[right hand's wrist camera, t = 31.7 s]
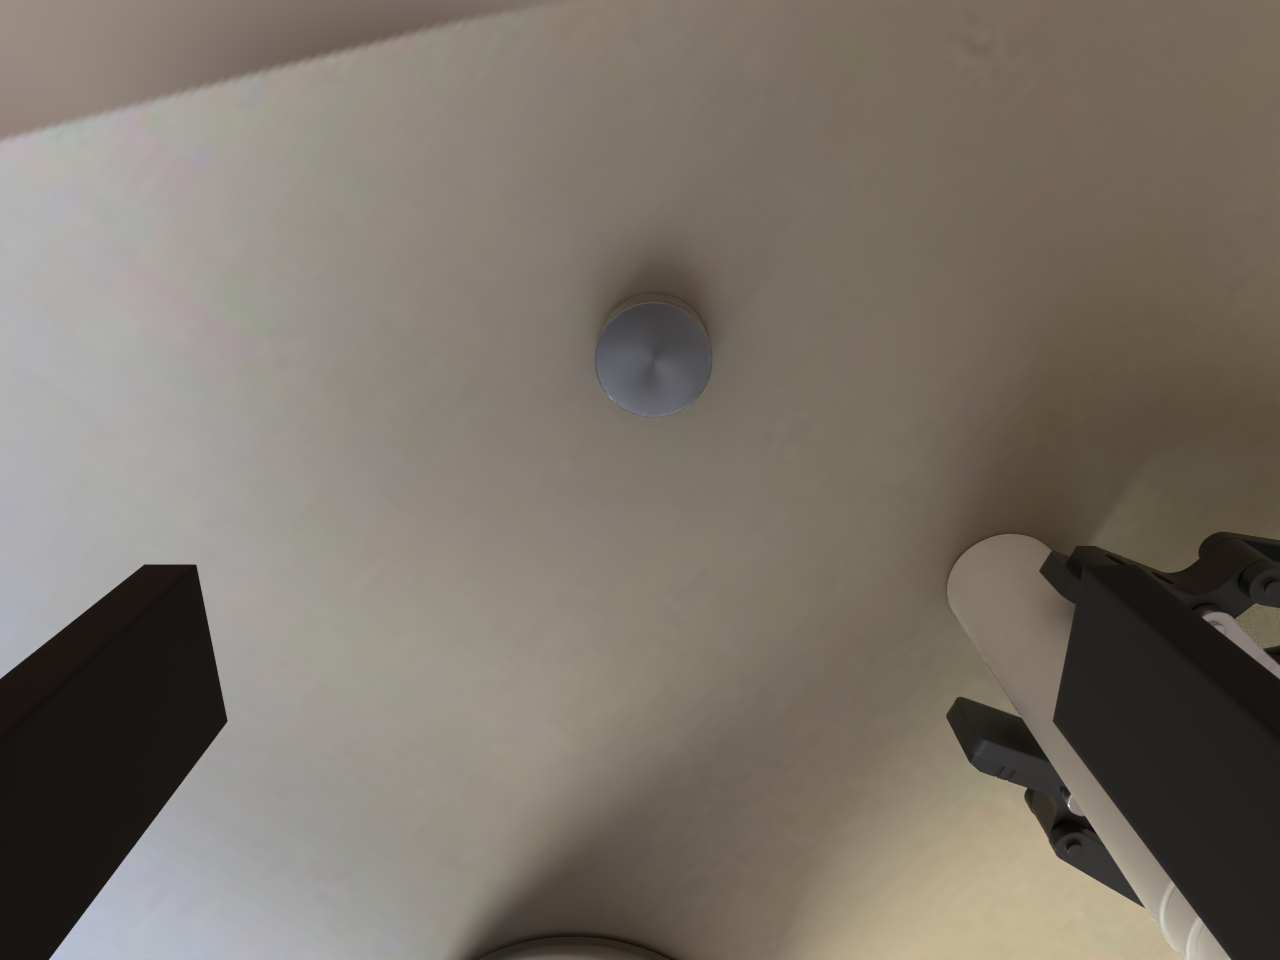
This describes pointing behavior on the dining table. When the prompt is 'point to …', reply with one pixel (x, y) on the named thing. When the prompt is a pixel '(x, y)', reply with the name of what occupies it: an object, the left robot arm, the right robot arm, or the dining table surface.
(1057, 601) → the bottle
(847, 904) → the dining table surface
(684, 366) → the cap
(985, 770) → the left robot arm
